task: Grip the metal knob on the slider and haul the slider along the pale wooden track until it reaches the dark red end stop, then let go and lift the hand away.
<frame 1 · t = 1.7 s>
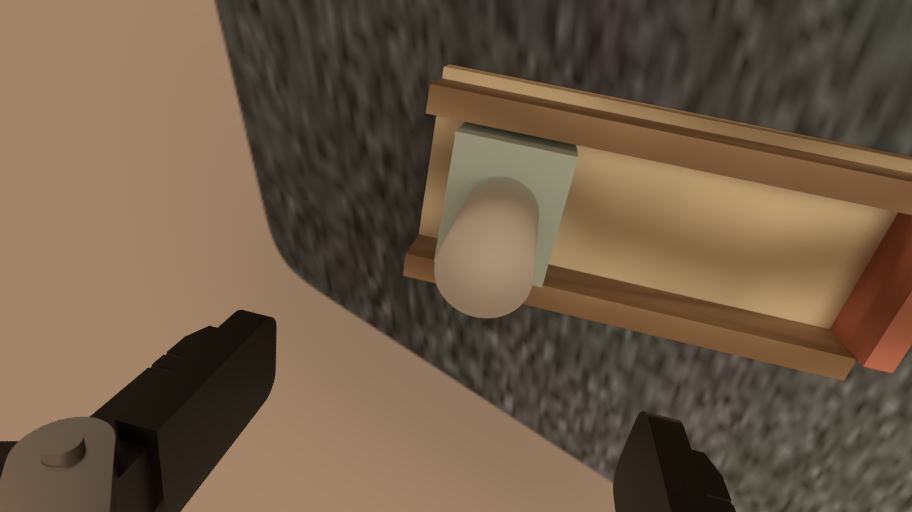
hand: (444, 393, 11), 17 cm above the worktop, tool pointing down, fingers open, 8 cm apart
track: (647, 212, 25), on the worktop
slider: (497, 225, 20), point 6 cm above the worktop, slide at 0.0 cm
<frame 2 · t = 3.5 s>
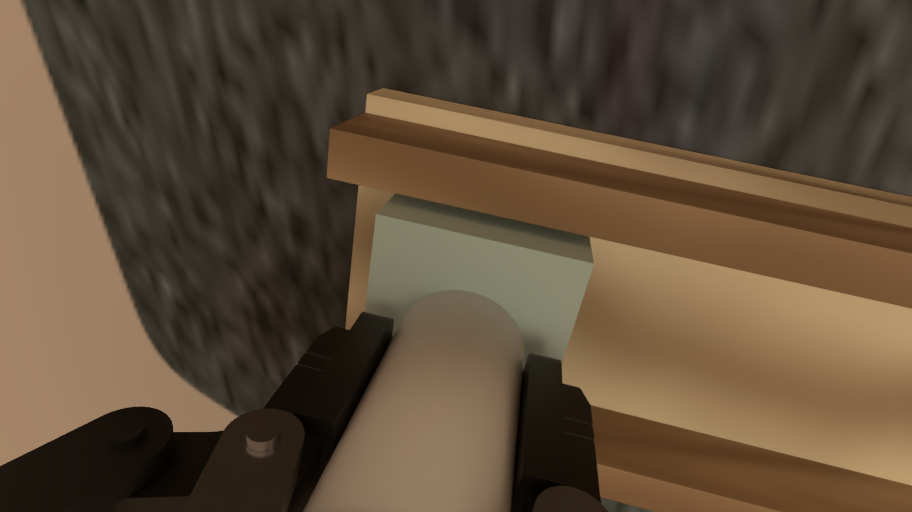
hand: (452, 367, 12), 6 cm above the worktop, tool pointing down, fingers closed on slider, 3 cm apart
track: (694, 315, 16), on the worktop
slider: (448, 385, 11), point 6 cm above the worktop, slide at 0.0 cm, touching gripper
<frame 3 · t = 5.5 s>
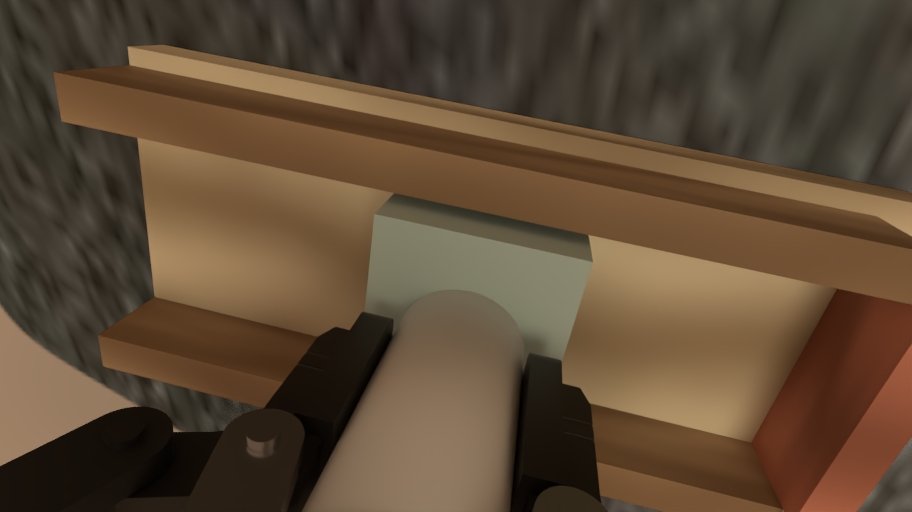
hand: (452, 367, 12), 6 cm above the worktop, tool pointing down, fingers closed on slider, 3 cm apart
track: (481, 265, 17), on the worktop
slider: (448, 384, 11), point 6 cm above the worktop, slide at 7.1 cm, touching gripper
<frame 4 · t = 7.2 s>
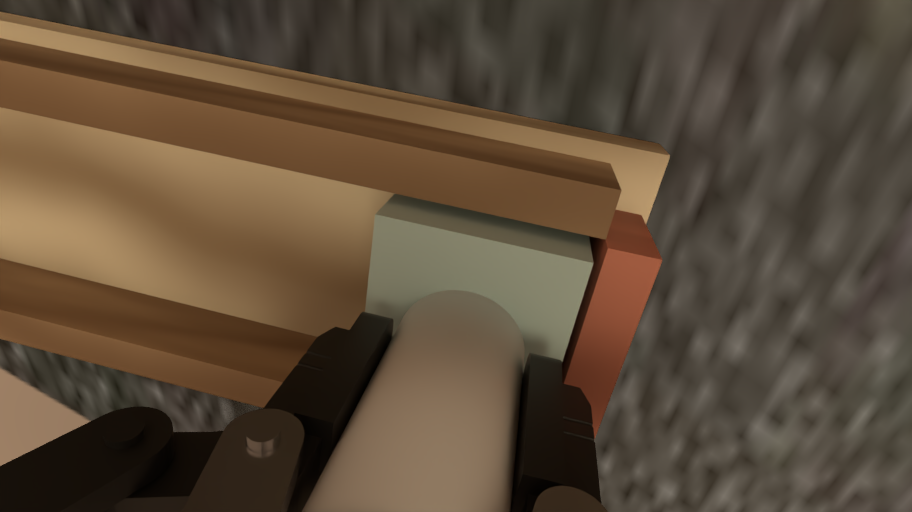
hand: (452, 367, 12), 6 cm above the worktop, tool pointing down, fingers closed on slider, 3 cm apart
track: (289, 222, 18), on the worktop
slider: (448, 385, 11), point 6 cm above the worktop, slide at 13.8 cm, touching gripper
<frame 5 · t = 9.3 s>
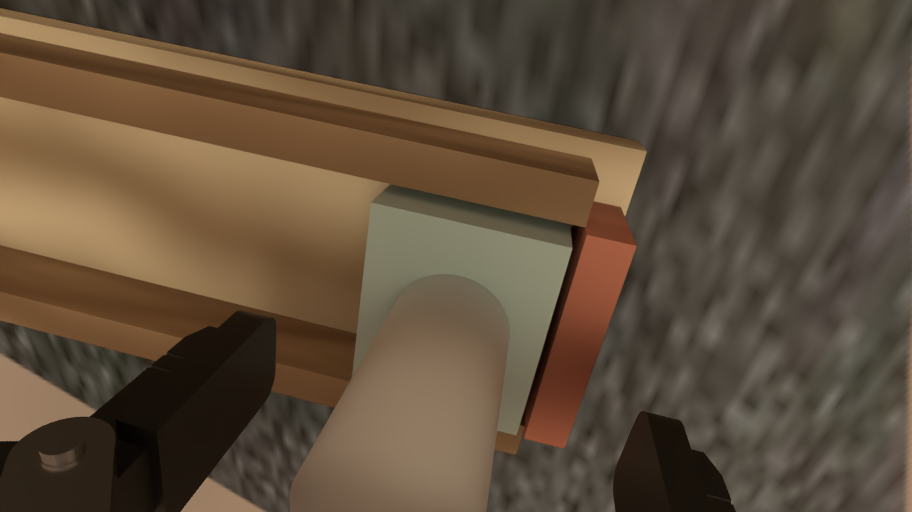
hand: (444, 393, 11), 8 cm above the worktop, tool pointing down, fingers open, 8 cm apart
track: (289, 214, 18), on the worktop
slider: (438, 360, 12), point 6 cm above the worktop, slide at 13.8 cm
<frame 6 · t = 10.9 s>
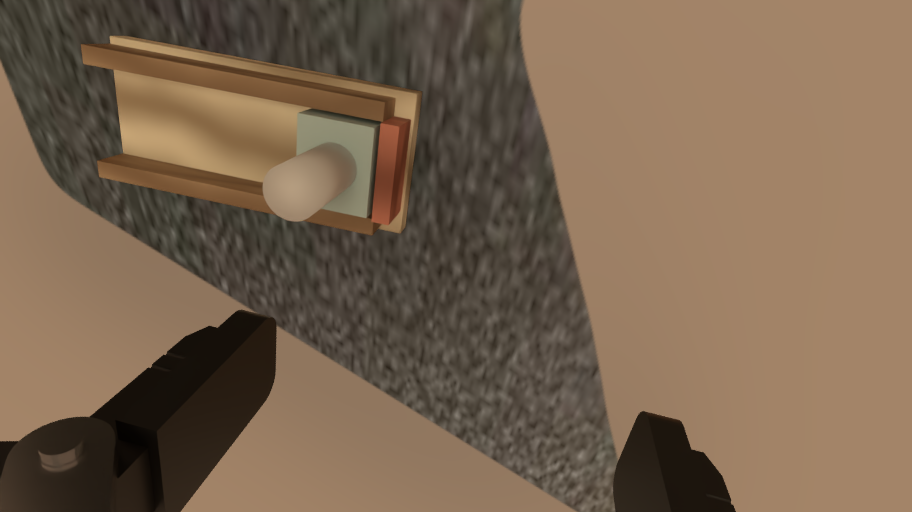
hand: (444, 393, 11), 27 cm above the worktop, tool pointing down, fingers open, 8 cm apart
track: (269, 134, 38), on the worktop
slider: (323, 172, 32), point 6 cm above the worktop, slide at 13.8 cm
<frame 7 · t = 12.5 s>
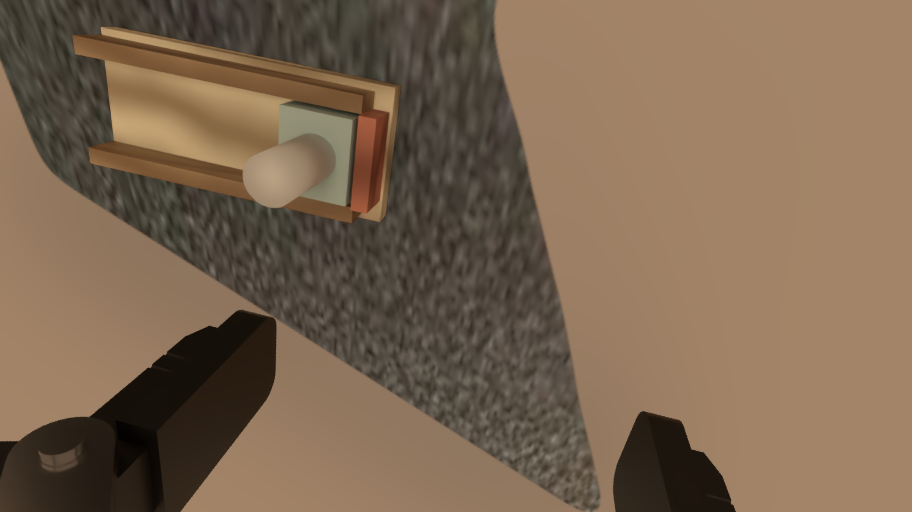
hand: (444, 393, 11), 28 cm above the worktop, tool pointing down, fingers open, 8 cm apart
track: (255, 124, 39), on the worktop
slider: (303, 162, 33), point 6 cm above the worktop, slide at 13.8 cm
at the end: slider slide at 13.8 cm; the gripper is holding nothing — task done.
